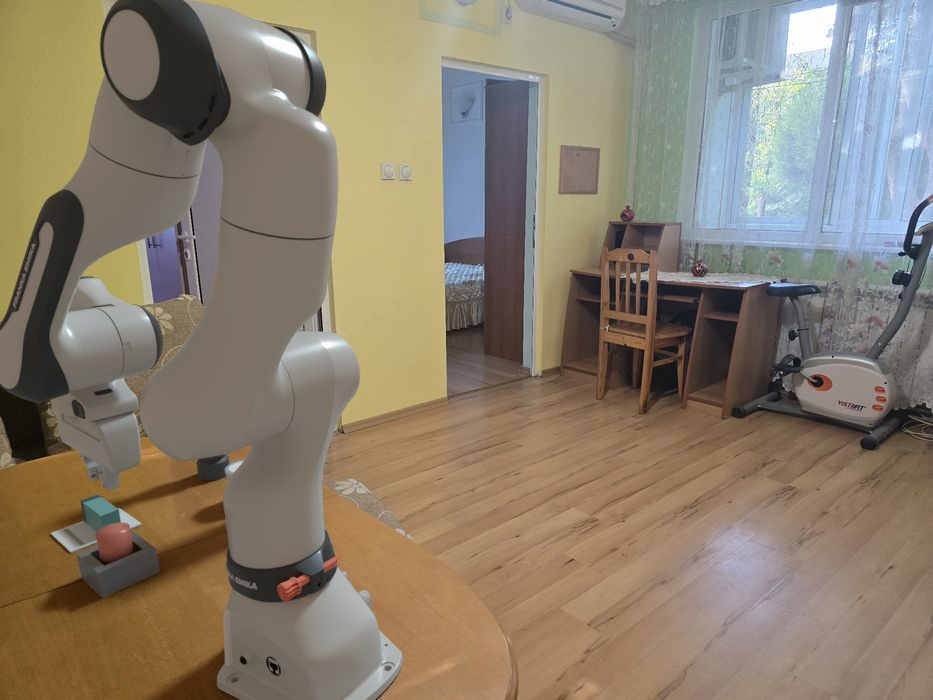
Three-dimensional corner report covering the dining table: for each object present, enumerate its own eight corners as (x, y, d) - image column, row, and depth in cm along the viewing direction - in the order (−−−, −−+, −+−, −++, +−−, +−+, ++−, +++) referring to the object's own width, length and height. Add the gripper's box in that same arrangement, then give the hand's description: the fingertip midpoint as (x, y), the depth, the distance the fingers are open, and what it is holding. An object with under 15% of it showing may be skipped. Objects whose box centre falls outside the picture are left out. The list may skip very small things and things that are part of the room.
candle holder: (216, 482, 120) (200, 363, 115) (191, 478, 122) (174, 361, 117) (236, 469, 126) (222, 355, 120) (213, 466, 128) (198, 353, 122)
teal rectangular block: (122, 530, 102) (118, 509, 101) (104, 537, 100) (100, 516, 99) (101, 514, 108) (97, 494, 107) (84, 521, 106) (80, 500, 105)
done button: (139, 558, 90) (134, 528, 89) (108, 572, 87) (102, 541, 86) (127, 548, 93) (122, 519, 92) (96, 561, 89) (90, 531, 88)
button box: (159, 571, 91) (155, 548, 90) (102, 598, 85) (97, 573, 84) (136, 553, 96) (133, 531, 95) (81, 577, 90) (76, 554, 89)
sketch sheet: (141, 525, 105) (141, 523, 105) (71, 553, 96) (70, 551, 96) (119, 509, 110) (119, 507, 110) (50, 534, 102) (50, 532, 102)
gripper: (37, 385, 88) (54, 472, 91) (91, 412, 75) (109, 512, 78) (84, 375, 92) (99, 458, 96) (143, 399, 80) (158, 494, 83)
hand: (104, 483), depth 87 cm, fingers open, 4 cm apart
